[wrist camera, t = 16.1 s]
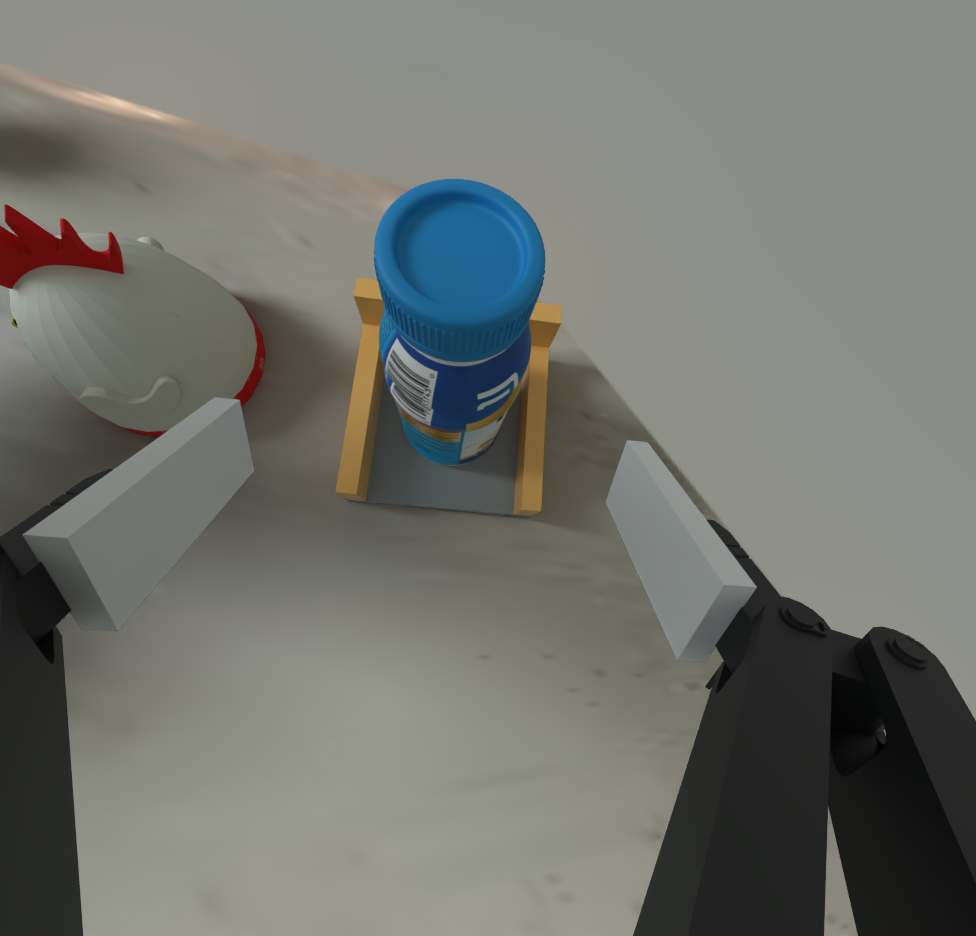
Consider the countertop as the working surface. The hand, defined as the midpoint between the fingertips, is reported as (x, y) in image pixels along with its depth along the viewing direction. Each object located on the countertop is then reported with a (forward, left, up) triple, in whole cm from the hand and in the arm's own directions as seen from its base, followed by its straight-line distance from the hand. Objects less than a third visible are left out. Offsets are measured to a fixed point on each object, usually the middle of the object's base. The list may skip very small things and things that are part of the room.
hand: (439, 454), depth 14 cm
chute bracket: (+8, +3, -20) cm, 22 cm away
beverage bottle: (+8, +3, -19) cm, 21 cm away
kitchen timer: (+3, +26, -21) cm, 33 cm away
